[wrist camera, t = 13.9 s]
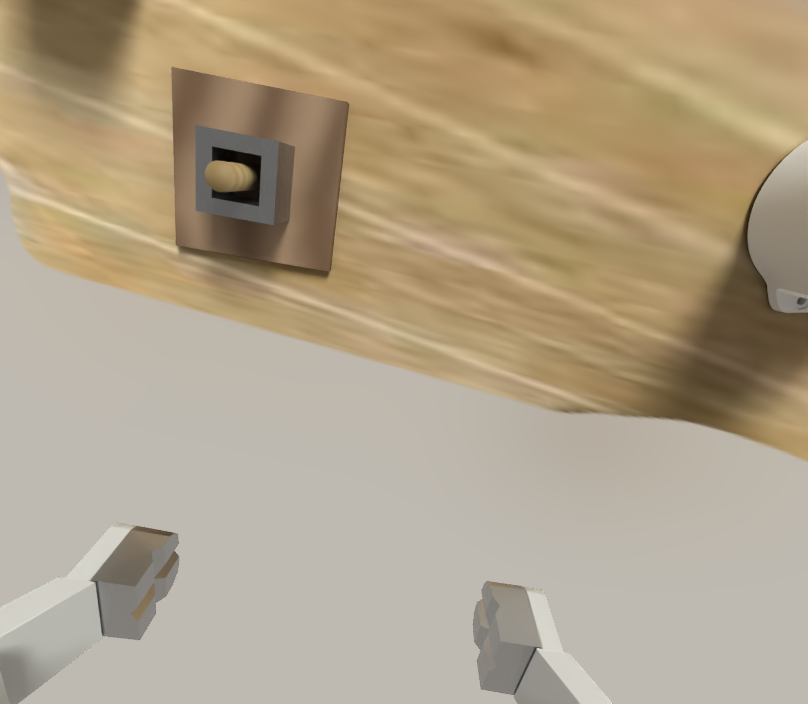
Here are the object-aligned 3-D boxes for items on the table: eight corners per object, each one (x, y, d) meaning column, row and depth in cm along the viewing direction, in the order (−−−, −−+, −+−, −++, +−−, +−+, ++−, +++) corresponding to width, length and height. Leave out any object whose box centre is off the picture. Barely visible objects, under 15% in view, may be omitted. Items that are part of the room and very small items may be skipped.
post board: (349, 104, 35) (332, 79, 27) (330, 269, 40) (311, 292, 32) (177, 70, 34) (105, 33, 26) (181, 243, 39) (121, 260, 31)
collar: (295, 146, 36) (278, 141, 31) (289, 220, 38) (273, 225, 33) (222, 132, 35) (195, 124, 30) (221, 207, 37) (195, 211, 33)
